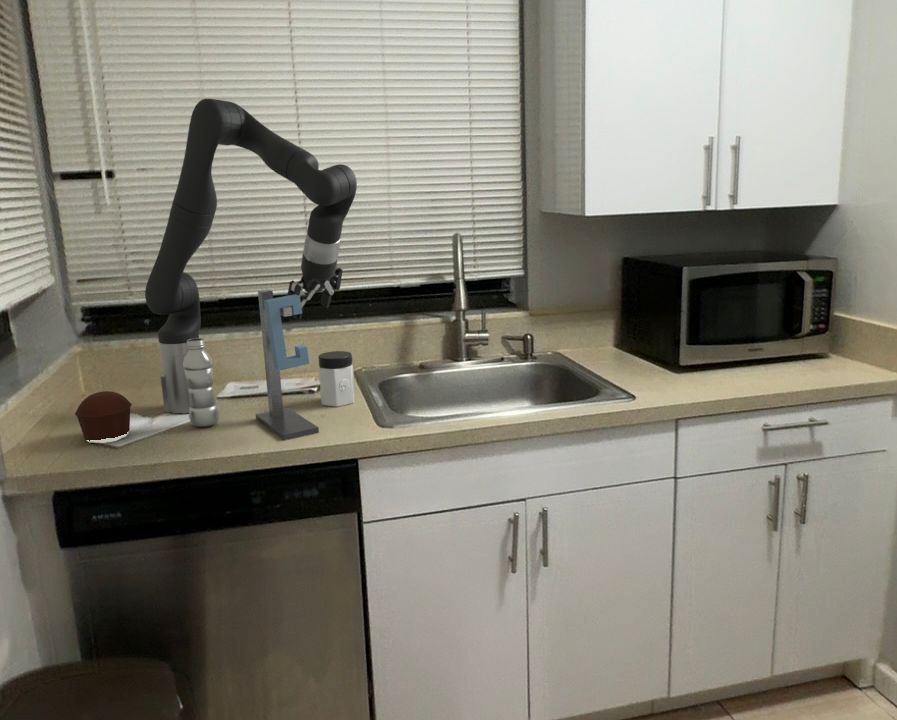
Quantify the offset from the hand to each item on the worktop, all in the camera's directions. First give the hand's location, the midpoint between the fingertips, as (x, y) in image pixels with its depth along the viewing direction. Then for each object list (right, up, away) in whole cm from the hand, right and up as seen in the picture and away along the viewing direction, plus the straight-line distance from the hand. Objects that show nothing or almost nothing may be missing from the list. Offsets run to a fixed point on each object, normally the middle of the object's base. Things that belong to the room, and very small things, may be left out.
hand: (310, 312), depth 173 cm
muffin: (-44, -28, -6) cm, 52 cm away
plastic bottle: (-24, -26, 0) cm, 35 cm away
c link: (-2, -12, -10) cm, 16 cm away
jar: (+4, -22, +14) cm, 26 cm away
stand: (-5, -26, -3) cm, 26 cm away
